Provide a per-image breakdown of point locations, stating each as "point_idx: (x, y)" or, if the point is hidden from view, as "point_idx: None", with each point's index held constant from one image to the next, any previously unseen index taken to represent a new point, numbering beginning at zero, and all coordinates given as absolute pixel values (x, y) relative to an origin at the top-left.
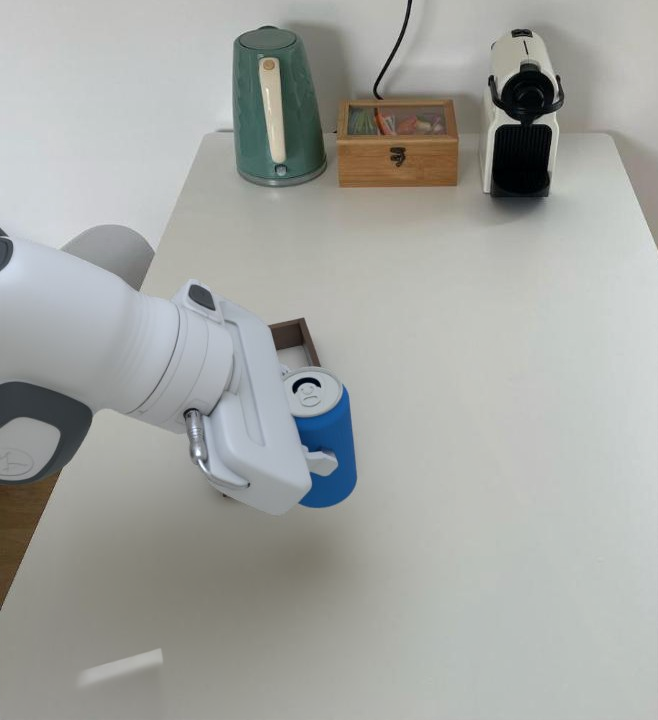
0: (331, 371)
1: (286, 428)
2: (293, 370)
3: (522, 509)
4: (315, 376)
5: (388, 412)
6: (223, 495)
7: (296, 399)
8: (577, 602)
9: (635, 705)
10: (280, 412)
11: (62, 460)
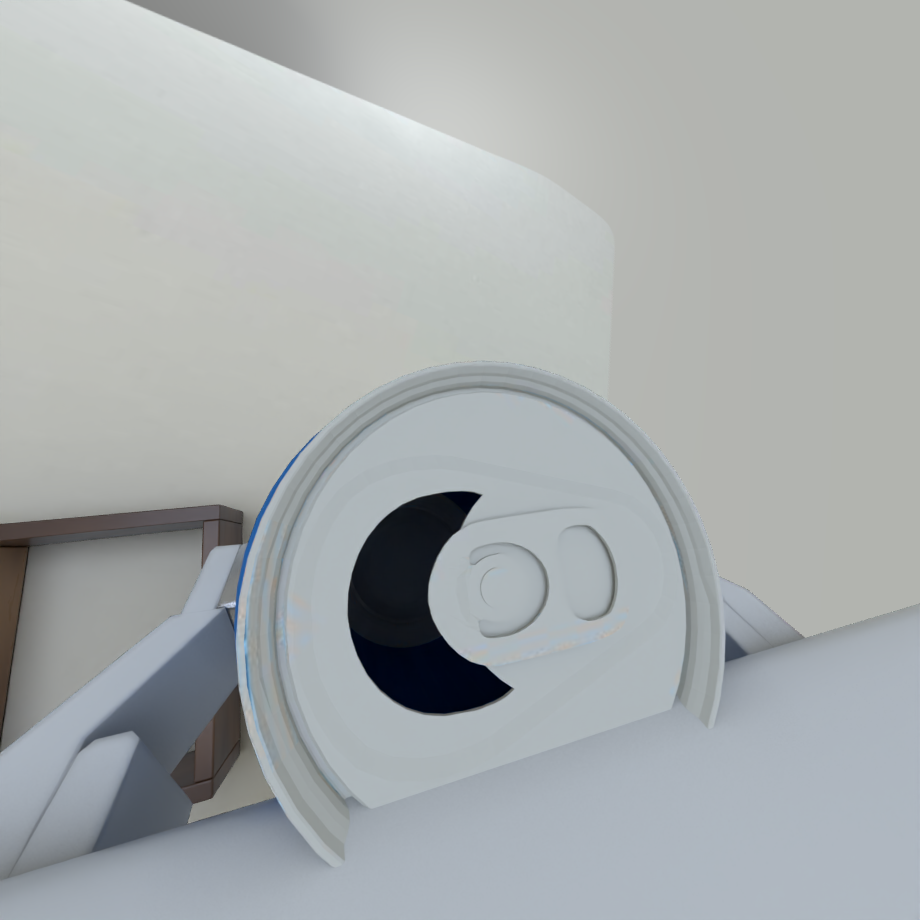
0: (364, 396)
1: (916, 758)
2: (251, 718)
3: (397, 317)
4: (361, 518)
5: (135, 426)
6: (238, 755)
7: (562, 672)
8: (516, 318)
9: (605, 320)
10: (836, 836)
11: None
